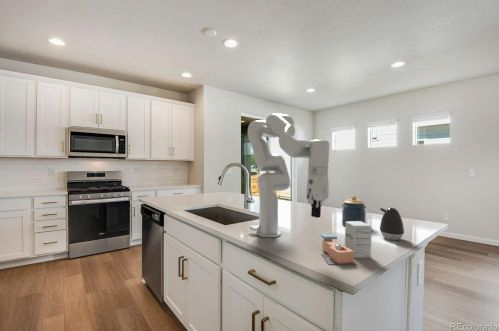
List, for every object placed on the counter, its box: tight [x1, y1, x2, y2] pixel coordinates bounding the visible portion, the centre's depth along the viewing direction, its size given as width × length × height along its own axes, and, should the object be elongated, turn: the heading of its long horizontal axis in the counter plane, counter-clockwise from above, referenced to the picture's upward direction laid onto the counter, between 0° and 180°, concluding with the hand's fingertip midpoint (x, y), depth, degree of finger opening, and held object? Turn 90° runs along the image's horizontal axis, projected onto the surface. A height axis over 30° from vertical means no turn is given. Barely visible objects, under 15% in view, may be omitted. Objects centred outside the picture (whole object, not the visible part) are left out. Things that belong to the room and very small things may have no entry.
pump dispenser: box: [379, 207, 405, 241], centre depth 120 cm, size 10×10×15 cm
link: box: [321, 239, 355, 263], centre depth 97 cm, size 14×6×4 cm, turn 13°
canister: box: [341, 195, 367, 227], centre depth 144 cm, size 13×13×18 cm
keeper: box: [320, 232, 338, 242], centre depth 105 cm, size 6×6×6 cm
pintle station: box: [320, 243, 357, 266], centre depth 93 cm, size 10×10×6 cm
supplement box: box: [344, 221, 372, 259], centre depth 99 cm, size 7×7×13 cm
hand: (315, 216), depth 99 cm, fingers closed
